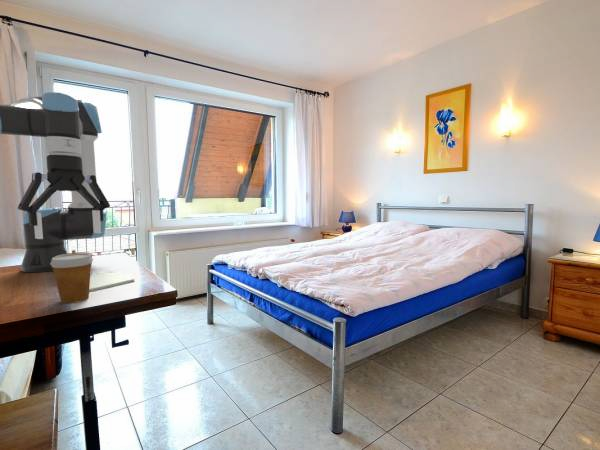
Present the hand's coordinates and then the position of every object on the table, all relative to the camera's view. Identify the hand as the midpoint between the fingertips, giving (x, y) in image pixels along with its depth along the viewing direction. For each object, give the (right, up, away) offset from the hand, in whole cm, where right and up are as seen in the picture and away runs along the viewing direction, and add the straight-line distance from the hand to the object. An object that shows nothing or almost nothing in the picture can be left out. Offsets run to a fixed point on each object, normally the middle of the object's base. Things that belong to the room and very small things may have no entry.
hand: (70, 235), depth 85 cm
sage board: (-4, -16, +19) cm, 25 cm away
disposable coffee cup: (0, -18, +2) cm, 18 cm away
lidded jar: (-17, -15, +26) cm, 34 cm away
